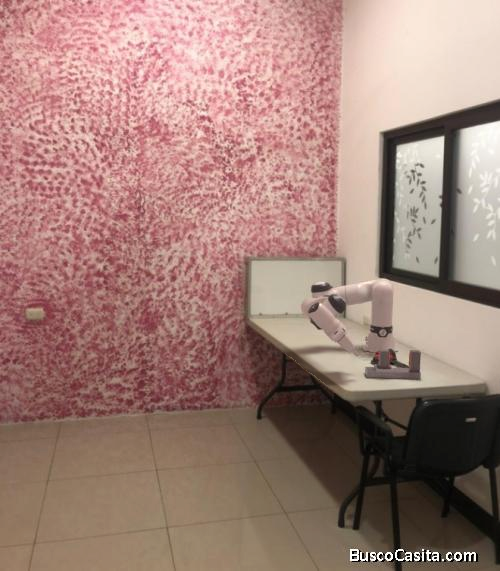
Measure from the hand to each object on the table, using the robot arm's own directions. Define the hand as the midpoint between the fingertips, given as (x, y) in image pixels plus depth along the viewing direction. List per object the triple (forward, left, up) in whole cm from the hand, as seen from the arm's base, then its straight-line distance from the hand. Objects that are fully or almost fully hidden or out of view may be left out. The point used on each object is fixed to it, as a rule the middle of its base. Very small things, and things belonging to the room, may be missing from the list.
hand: (357, 353), depth 277 cm
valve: (-22, +18, -11) cm, 30 cm away
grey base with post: (0, +16, -10) cm, 19 cm away
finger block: (0, +12, -7) cm, 14 cm away
